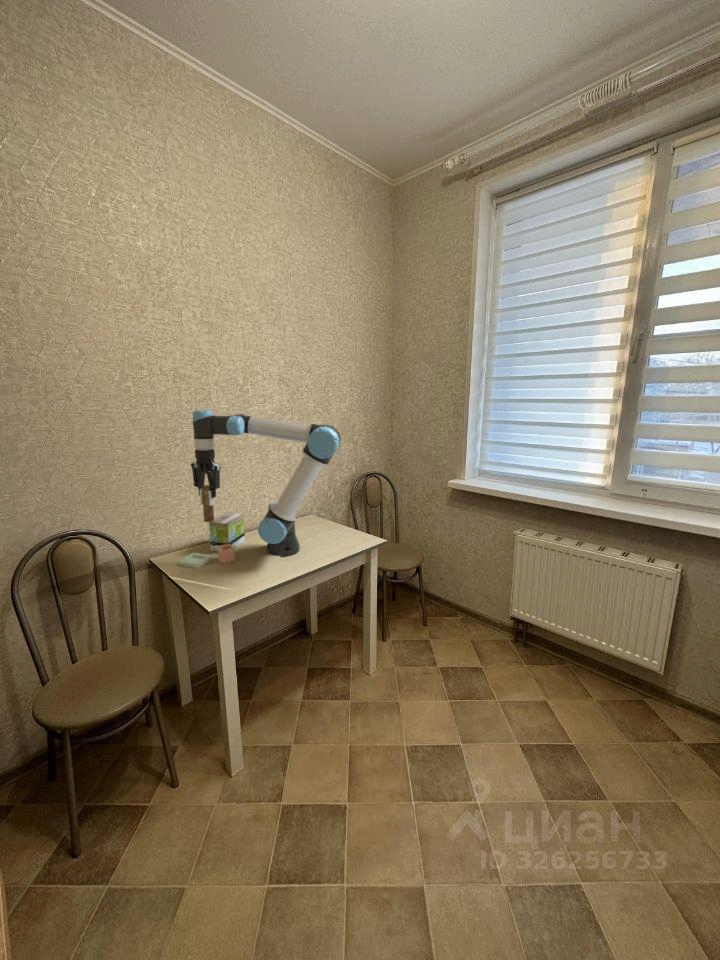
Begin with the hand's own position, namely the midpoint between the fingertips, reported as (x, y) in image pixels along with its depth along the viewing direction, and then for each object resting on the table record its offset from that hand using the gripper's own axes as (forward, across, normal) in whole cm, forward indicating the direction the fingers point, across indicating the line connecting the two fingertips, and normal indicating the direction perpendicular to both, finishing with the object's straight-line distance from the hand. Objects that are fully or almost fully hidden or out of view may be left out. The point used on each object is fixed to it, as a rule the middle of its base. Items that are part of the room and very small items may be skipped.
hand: (207, 503), depth 160 cm
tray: (+27, +5, +4) cm, 27 cm away
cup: (+26, -6, -3) cm, 27 cm away
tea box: (+27, +4, -17) cm, 32 cm away
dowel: (+7, 0, 0) cm, 7 cm away
